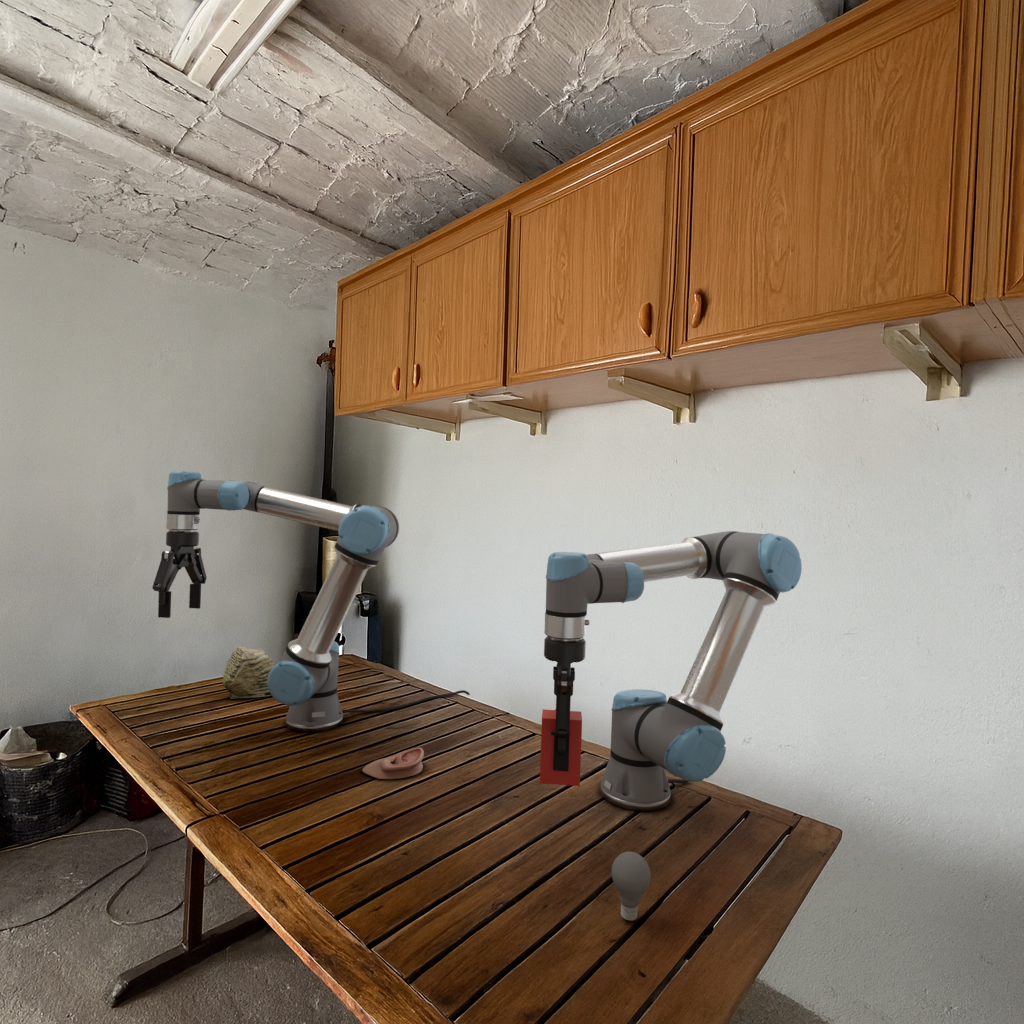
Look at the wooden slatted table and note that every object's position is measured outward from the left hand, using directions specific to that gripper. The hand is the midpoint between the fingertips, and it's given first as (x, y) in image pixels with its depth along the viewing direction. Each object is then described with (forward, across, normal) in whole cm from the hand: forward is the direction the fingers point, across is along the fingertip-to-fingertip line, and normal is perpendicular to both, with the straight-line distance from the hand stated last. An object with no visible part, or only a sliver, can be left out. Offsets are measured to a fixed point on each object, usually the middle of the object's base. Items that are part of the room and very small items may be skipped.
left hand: (180, 612), depth 164 cm
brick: (+18, -43, -98) cm, 109 cm away
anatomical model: (+31, -13, -60) cm, 69 cm away
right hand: (+15, -43, -98) cm, 108 cm away
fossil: (+31, +34, -5) cm, 46 cm away
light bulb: (+31, -60, -109) cm, 129 cm away
